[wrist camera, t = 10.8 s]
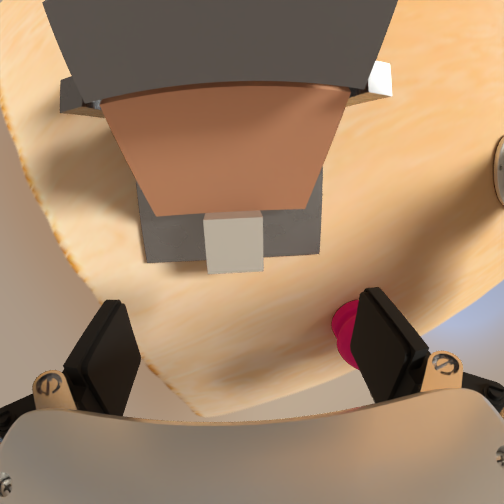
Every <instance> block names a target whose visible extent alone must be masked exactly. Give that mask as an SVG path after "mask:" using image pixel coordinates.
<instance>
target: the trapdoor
mask: <svg viewBox="0 0 504 504" xmlns="http://www.w3.org/2000/svg"><path fill="white" fill-rule="evenodd" d="M397 1H398V0H45V1H44V2H43V6H44V9H45V12H46V14H47V17H48V20H49V22H50V25H51V28H52V30H53V33H54V35H55V38H56V40H57V43H58V45H59V48H60V50H61V52H62V55H63V57H64V59H65V62H66V64H67V66H68V69H69V71H70V73H71V75H72V77H73V80H74V82H75V84H76V86H77V88H78V90H79V92H80V95H81V97H82V99H83V101H84V103H85V104H86V103H90V102H94V101H97V100H101V99H102V100H101V102H100V107H101V110H102V112H103V114H104V116H105V118H106V120H107V122H108V125H109V127H110V129H111V131H112V133H113V135H114V137H115V139H116V141H117V143H118V145H119V147H120V149H121V151H122V153H123V155H124V157H125V159H126V161H127V163H128V165H129V167H130V169H131V171H132V173H133V175H134V177H135V179H136V180H137V182H138V184H139V186H140V188H141V190H142V192H143V194H144V195H145V197H146V199H147V201H148V203H149V205H150V206H151V208H152V210H153V212H154V214H155V215H156V217H158V216H171V215H184V214H200V213H216V212H235V211H257V210H285V209H305V208H306V205H307V203H308V200H309V198H310V196H311V193H312V191H313V188H314V186H315V183H316V181H317V178H318V176H319V174H320V171H321V169H322V166H323V164H324V161H325V159H326V156H327V154H328V151H329V149H330V146H331V143H332V141H333V138H334V136H335V133H336V131H337V128H338V125H339V123H340V120H341V118H342V115H343V112H344V110H345V107H346V104H347V102H348V99H349V96H350V94H351V91H350V89H349V87H351V88H358V89H365V86H366V84H367V81H368V79H369V76H370V74H371V71H372V69H373V66H374V64H375V61H376V58H377V56H378V53H379V51H380V48H381V45H382V43H383V40H384V37H385V35H386V32H387V29H388V27H389V24H390V21H391V18H392V16H393V13H394V10H395V7H396V4H397Z"/></svg>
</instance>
